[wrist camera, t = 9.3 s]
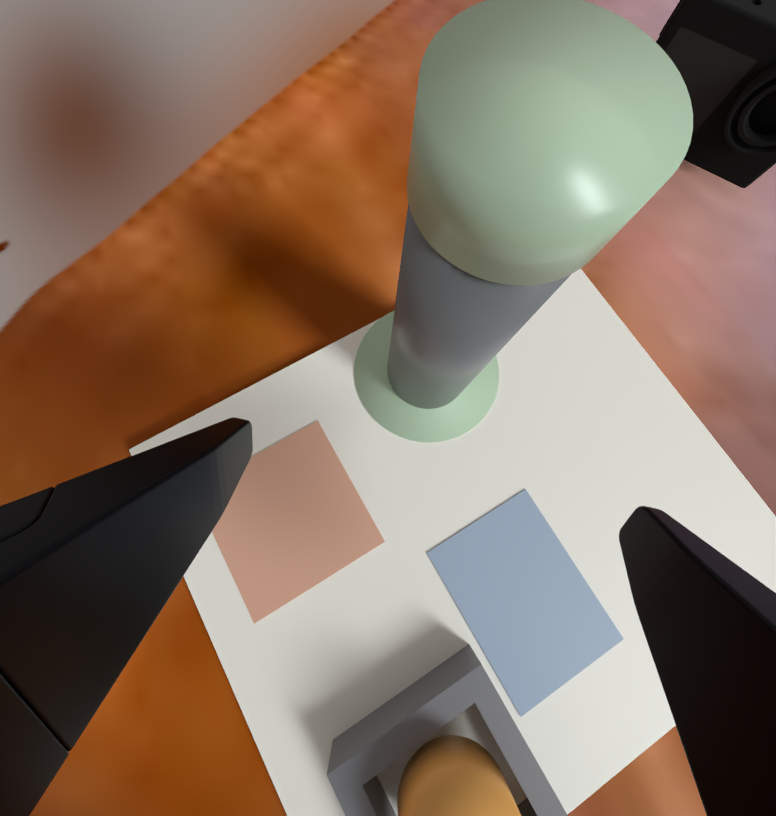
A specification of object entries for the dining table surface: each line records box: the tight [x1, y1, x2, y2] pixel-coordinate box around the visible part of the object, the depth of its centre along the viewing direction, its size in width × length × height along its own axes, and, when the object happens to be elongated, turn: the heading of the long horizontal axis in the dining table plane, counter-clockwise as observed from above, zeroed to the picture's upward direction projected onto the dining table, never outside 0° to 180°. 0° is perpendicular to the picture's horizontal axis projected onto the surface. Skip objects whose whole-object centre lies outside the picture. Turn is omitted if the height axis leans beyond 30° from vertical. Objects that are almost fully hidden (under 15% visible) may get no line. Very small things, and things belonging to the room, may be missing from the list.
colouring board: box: [129, 269, 776, 816], centre depth 18 cm, size 27×24×1 cm
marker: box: [387, 0, 693, 409], centre depth 13 cm, size 5×5×14 cm
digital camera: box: [656, 0, 776, 188], centre depth 21 cm, size 10×5×7 cm, turn 58°
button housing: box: [327, 644, 568, 816], centre depth 14 cm, size 7×7×2 cm
